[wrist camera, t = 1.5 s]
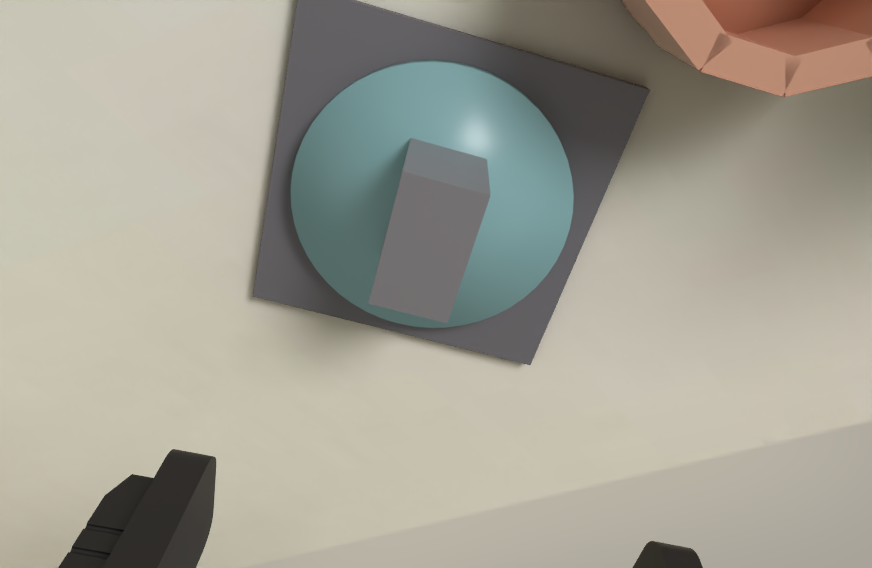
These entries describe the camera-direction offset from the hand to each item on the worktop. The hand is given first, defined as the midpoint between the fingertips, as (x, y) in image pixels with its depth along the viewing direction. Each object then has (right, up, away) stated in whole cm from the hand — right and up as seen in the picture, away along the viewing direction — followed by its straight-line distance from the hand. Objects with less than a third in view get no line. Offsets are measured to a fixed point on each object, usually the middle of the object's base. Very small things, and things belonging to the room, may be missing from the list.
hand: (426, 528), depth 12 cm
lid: (0, +8, +16) cm, 18 cm away
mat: (0, +8, +16) cm, 18 cm away
